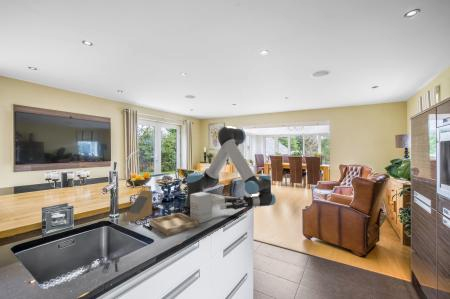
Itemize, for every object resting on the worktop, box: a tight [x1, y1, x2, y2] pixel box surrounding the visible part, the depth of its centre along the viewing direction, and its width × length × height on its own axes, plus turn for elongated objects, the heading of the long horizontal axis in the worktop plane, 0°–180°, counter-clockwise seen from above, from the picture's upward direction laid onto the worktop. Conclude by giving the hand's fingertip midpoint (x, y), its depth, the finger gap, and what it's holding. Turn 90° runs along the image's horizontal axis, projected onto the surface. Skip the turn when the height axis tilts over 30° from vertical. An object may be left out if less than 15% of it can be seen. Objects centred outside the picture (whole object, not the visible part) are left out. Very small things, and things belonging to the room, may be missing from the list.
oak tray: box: [149, 212, 200, 237], centre depth 111 cm, size 18×20×3 cm
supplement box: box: [189, 191, 213, 224], centre depth 120 cm, size 9×9×15 cm
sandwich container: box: [122, 189, 153, 223], centre depth 127 cm, size 9×15×15 cm, turn 157°
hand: (217, 204), depth 122 cm, fingers open, 13 cm apart
